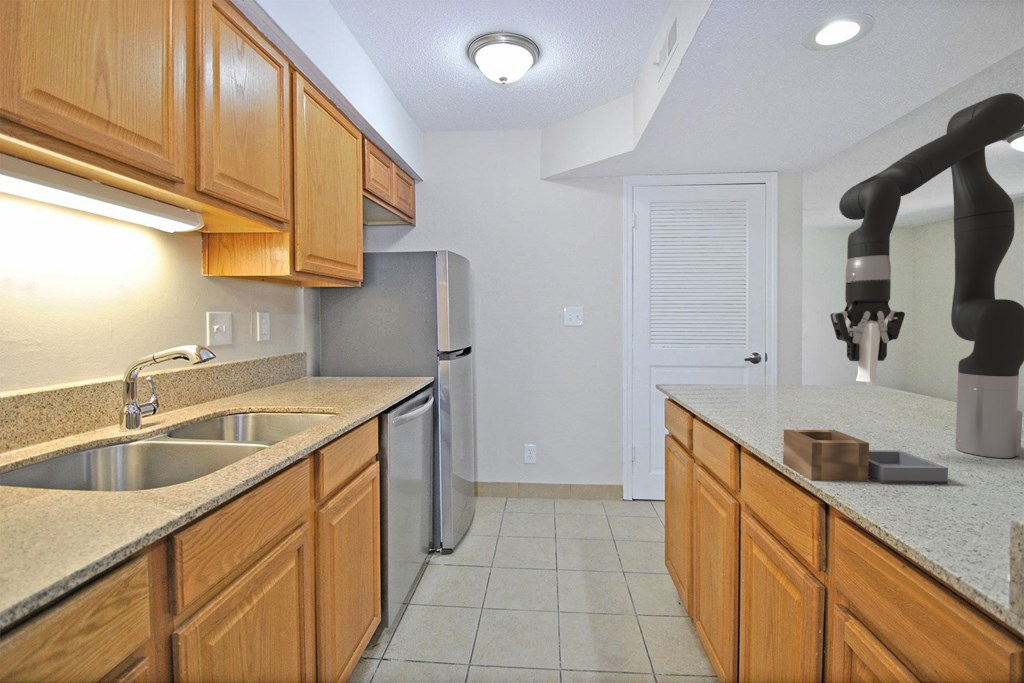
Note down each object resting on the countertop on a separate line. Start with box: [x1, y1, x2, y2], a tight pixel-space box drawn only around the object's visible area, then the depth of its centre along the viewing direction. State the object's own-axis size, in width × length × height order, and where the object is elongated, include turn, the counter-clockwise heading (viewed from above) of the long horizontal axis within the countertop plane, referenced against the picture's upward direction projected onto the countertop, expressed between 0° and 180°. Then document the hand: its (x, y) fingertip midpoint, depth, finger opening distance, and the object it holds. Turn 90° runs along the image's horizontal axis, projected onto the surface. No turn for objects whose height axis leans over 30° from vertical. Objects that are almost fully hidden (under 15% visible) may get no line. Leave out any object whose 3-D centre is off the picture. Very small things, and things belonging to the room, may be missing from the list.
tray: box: [868, 449, 949, 486], centre depth 89 cm, size 11×11×3 cm
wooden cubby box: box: [782, 429, 870, 482], centre depth 90 cm, size 10×10×7 cm
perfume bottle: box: [855, 320, 880, 383], centre depth 98 cm, size 5×4×15 cm
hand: (866, 360), depth 98 cm, fingers closed on perfume bottle, 4 cm apart
